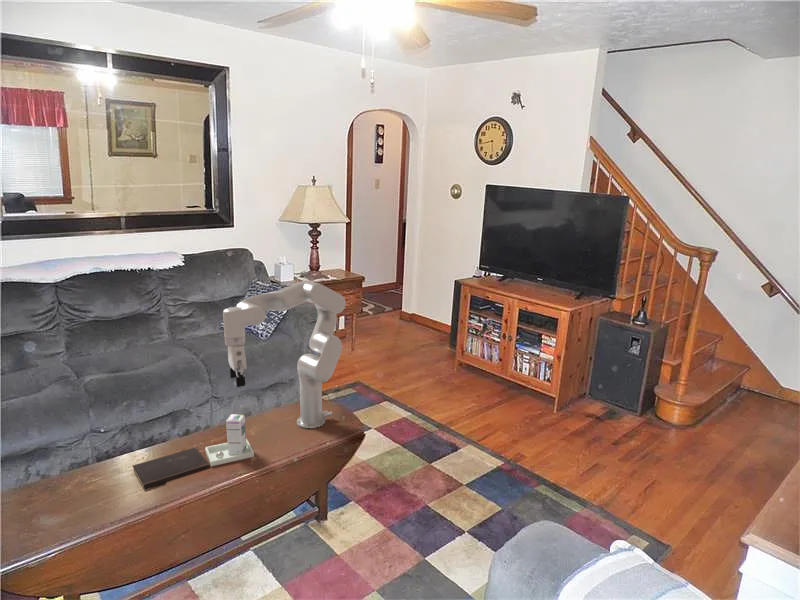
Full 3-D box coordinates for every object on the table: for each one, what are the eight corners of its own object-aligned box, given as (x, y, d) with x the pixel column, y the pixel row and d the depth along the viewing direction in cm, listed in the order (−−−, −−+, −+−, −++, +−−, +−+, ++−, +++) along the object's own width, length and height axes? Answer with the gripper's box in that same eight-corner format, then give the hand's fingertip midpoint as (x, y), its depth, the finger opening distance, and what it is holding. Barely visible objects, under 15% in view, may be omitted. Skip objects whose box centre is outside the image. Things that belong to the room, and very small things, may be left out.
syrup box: (242, 454, 210) (241, 420, 206) (227, 454, 210) (225, 420, 206) (246, 447, 215) (245, 414, 212) (232, 447, 215) (230, 413, 212)
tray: (246, 444, 219) (246, 438, 219) (254, 457, 209) (253, 452, 208) (205, 452, 212) (205, 447, 211) (211, 467, 201) (210, 461, 201)
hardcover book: (132, 471, 199) (132, 465, 198) (195, 452, 213) (195, 447, 212) (144, 491, 187) (143, 485, 186) (210, 470, 201) (210, 464, 200)
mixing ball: (223, 456, 209) (222, 449, 208) (224, 459, 206) (224, 452, 205) (215, 457, 207) (214, 450, 206) (216, 461, 205) (216, 454, 204)
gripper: (250, 345, 199) (253, 387, 204) (239, 332, 214) (242, 372, 218) (230, 348, 196) (233, 391, 200) (219, 334, 210) (223, 375, 215)
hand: (237, 381), depth 209 cm, fingers open, 9 cm apart
